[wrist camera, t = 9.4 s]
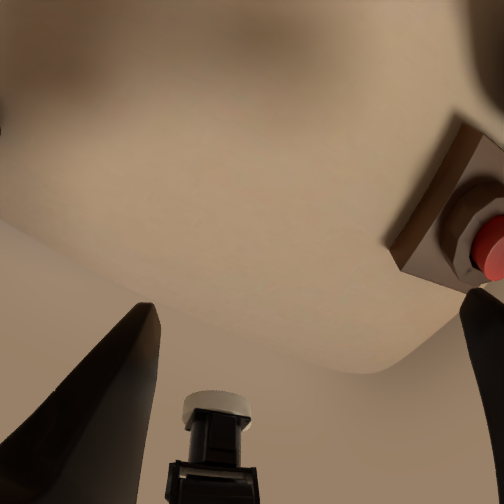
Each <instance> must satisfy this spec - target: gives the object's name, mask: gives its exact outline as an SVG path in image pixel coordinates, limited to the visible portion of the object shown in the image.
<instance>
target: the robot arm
mask: <svg viewBox="0 0 504 504" xmlns="http://www.w3.org/2000/svg"><path fill="white" fill-rule="evenodd" d="M459 314H460V319H461V322H462V327H463V331H464V335H465V339H466V343H467V348H468V352H469V356H470V360H471V364H472V367H473V370H474V374H475V377H476V380H477V384H478V387H479V391H480V395H481V399H482V403H483V407H484V411H485V416H486V420H487V425H488V429H489V434H490V439H491V445H492V450H493V456H494V462H495V469H496V478H497V486H498V495H499V504H504V304H503V303H502V302H501V301H499V300H498V299H497V298H495V297H494V296H492V295H491V294H489V293H488V292H487V291H485V290H484V289H482V288H472V289H470V290H469V291H468V293H467V295H466V297H465V299H464V301H463V303H462V305H461V307H460V312H459ZM160 337H161V325H160V321H159V318H158V315H157V312H156V308H155V306H154V304H153V303H147V302H146V303H143V302H140V303H138V304H136V305H135V306H134V307H133V308H132V309H131V310H130V311H129V312H128V313H127V314H126V315H125V316H124V317H123V318H122V319H121V320H120V321H119V322H118V323H117V324H116V325H115V327H113V328H112V330H111V331H110V332H109V333H108V334H107V335H106V336H105V337H104V338H103V339H102V340H101V341H100V342H99V343H98V344H97V345H96V346H95V347H94V348H93V349H92V350H91V352H89V354H88V355H87V356H86V357H85V358H84V359H83V360H82V361H81V362H80V363H79V364H78V365H77V366H76V367H75V368H74V369H73V371H72V372H71V373H70V374H69V375H68V376H67V377H66V378H65V379H64V380H63V381H62V382H61V383H60V385H59V386H58V387H57V388H56V389H55V391H53V392H52V393H51V394H50V396H48V398H47V399H46V400H45V401H44V402H43V403H42V404H41V405H40V406H39V407H38V408H37V409H36V410H35V412H34V413H33V414H32V415H31V416H30V417H28V418H27V419H26V420H25V421H24V422H23V423H22V424H21V425H20V426H19V427H18V428H17V429H16V430H15V431H14V432H13V433H11V434H10V435H9V436H8V437H7V438H6V439H5V440H4V441H3V442H2V443H1V444H0V504H136V501H137V494H138V486H139V480H140V473H141V466H142V460H143V453H144V447H145V441H146V436H147V430H148V424H149V419H150V413H151V408H152V403H153V397H154V392H155V387H156V381H157V369H158V358H159V347H160ZM250 422H251V417H249V416H242V415H236V414H229V413H223V412H218V411H212V410H207V409H201V408H194V410H193V412H192V414H191V416H190V418H189V420H188V421H187V423H186V425H185V430H186V431H191V438H190V448H189V459H188V462H182V461H180V460H176V463H169V472H168V480H167V485H166V492H165V499H166V500H167V501H168V502H169V504H260V497H259V488H258V479H257V470H256V467H251V468H243V467H241V432H242V431H243V430H244V429H245V428H246V426H247V425H248V424H249V423H250ZM180 475H182V476H186V478H180Z"/></svg>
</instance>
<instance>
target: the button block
mask: <svg viewBox="0 0 504 504" xmlns="http://www.w3.org/2000/svg"><path fill="white" fill-rule="evenodd" d="M498 215H503V216H504V151H503V150H502V149H501V148H500V147H499V146H497V145H496V144H495V143H494V142H493V141H492V140H490V139H489V138H488V137H487V136H486V135H484V134H483V133H481V132H480V131H478V130H476V129H474V128H472V127H470V126H469V125H467V124H465V123H463V124H462V126H461V128H460V130H459V132H458V134H457V136H456V138H455V140H454V142H453V144H452V146H451V148H450V150H449V152H448V153H447V155H446V157H445V159H444V161H443V163H442V165H441V166H440V168H439V170H438V172H437V174H436V175H435V177H434V179H433V181H432V182H431V184H430V186H429V188H428V189H427V191H426V193H425V195H424V196H423V198H422V200H421V201H420V203H419V205H418V206H417V208H416V210H415V211H414V213H413V214H412V216H411V218H410V219H409V221H408V223H407V224H406V226H405V227H404V229H403V230H402V232H401V234H400V235H399V237H398V238H397V240H396V241H395V243H394V244H393V246H392V247H391V249H390V253H391V255H392V257H393V259H394V260H395V262H396V264H397V266H398V268H399V270H400V271H401V272H404V273H407V274H410V275H413V276H416V277H419V278H422V279H425V280H428V281H431V282H434V283H436V284H439V285H442V286H445V287H448V288H451V289H454V290H457V291H459V292H462V293H465V294H467V293H468V291H469V290H470V289H472V288H478V287H479V286H480V285H481V284H484V283H488V282H491V280H489V279H487V278H486V277H485V275H484V274H483V272H482V271H481V270H480V268H479V267H478V266H477V264H476V263H475V262H474V260H473V259H472V256H471V246H472V241H473V240H474V238H475V237H476V235H477V234H478V232H479V231H480V229H481V227H482V226H483V225H484V224H486V223H487V222H488V221H490V220H491V219H492V218H494V217H495V216H498Z"/></svg>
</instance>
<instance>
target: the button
mask: <svg viewBox="0 0 504 504" xmlns="http://www.w3.org/2000/svg"><path fill="white" fill-rule="evenodd" d="M471 256H472V259H473V260H474V262H475V263H476V264H477V266H478V267H479V268H480V270H481V271H482V272H483V274H484V275H485V277H486V278H487V279H489V280H491V281H497V280H501V279H503V278H504V216H503V215H498V216H495V217H494V218H492V219H491V220H490V221H488V222H487V223H486V224H484V225H483V226H482V227H481V229H480V231H479V232H478V234H477V235H476V237H475V238H474V240H473V241H472V246H471Z"/></svg>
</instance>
